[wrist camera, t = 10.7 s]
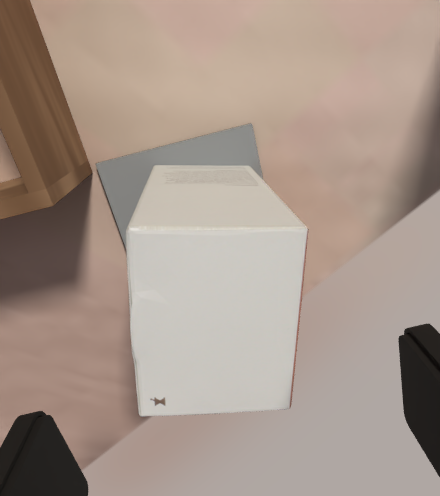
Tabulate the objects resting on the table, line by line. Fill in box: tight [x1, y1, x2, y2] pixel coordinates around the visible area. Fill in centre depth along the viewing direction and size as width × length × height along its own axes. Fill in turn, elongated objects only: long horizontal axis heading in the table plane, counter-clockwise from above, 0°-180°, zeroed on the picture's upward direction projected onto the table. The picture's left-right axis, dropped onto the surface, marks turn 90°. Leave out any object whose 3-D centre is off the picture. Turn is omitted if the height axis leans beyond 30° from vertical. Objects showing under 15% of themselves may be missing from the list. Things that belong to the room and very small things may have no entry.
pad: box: [96, 123, 263, 248], centre depth 27 cm, size 10×11×1 cm
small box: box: [126, 165, 309, 417], centre depth 21 cm, size 8×6×13 cm
